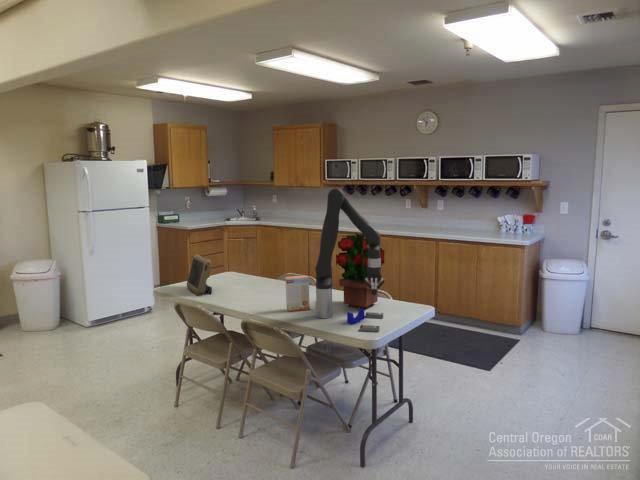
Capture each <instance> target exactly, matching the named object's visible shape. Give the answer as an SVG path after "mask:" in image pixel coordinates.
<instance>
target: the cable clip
mask: <svg viewBox="0 0 640 480" xmlns="http://www.w3.org/2000/svg"><path fill="white" fill-rule="evenodd" d="M357 311H358V312H357V315H356V316H355V317H354V313H353V312H348V311H347V313H346V322H347V324H350V325H356V324H359V323H361V321H363V320H365V309H361V308H358V310H357Z"/></svg>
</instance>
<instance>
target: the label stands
mask: <svg viewBox="0 0 640 480" xmlns="http://www.w3.org/2000/svg"><path fill="white" fill-rule="evenodd" d="M365 318H366V319H367V318H368V319H384V312H372V311H371V312H368V311H367V312H366V313H364V319H365ZM359 332H373V333H374V332H375V333H379V332H380V325H369V324H368V325H367V324H365V325H364V324H360V327H359Z"/></svg>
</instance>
